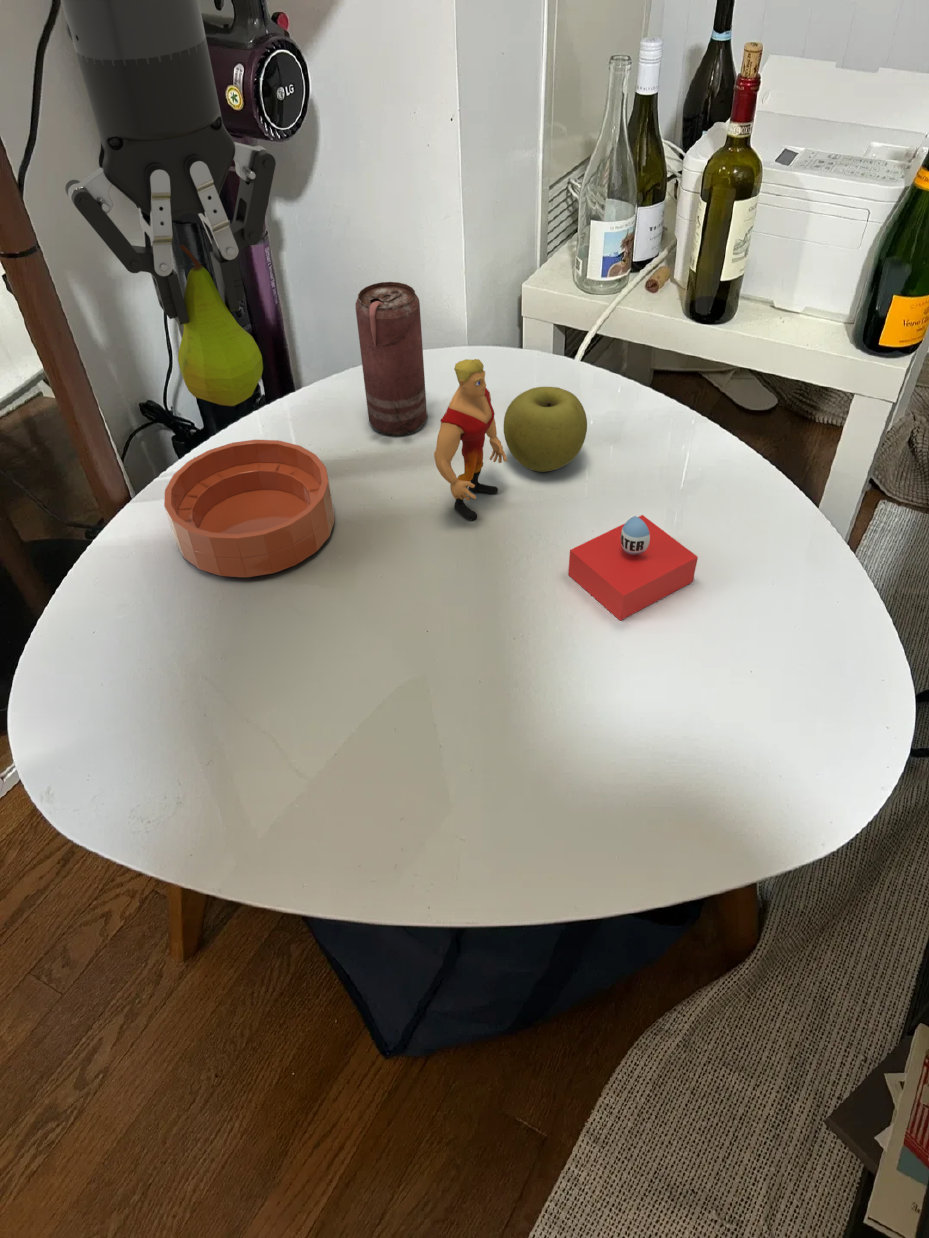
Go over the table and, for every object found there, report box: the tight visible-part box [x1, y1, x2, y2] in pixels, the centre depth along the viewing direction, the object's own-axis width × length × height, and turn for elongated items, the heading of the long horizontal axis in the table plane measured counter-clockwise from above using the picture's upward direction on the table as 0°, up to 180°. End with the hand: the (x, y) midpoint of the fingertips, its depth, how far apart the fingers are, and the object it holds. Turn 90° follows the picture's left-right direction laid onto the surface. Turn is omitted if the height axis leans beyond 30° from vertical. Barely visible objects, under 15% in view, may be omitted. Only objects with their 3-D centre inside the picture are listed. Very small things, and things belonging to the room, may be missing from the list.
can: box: [354, 281, 428, 437], centre depth 91 cm, size 6×6×14 cm
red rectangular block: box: [567, 514, 699, 621], centre depth 76 cm, size 8×7×6 cm
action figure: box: [433, 358, 508, 521], centre depth 81 cm, size 10×4×15 cm, turn 152°
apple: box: [502, 386, 588, 473], centre depth 88 cm, size 8×8×7 cm
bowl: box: [163, 439, 336, 578], centre depth 83 cm, size 14×14×5 cm
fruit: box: [177, 244, 264, 407], centre depth 67 cm, size 6×6×12 cm
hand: (206, 312), depth 66 cm, fingers closed on fruit, 3 cm apart
